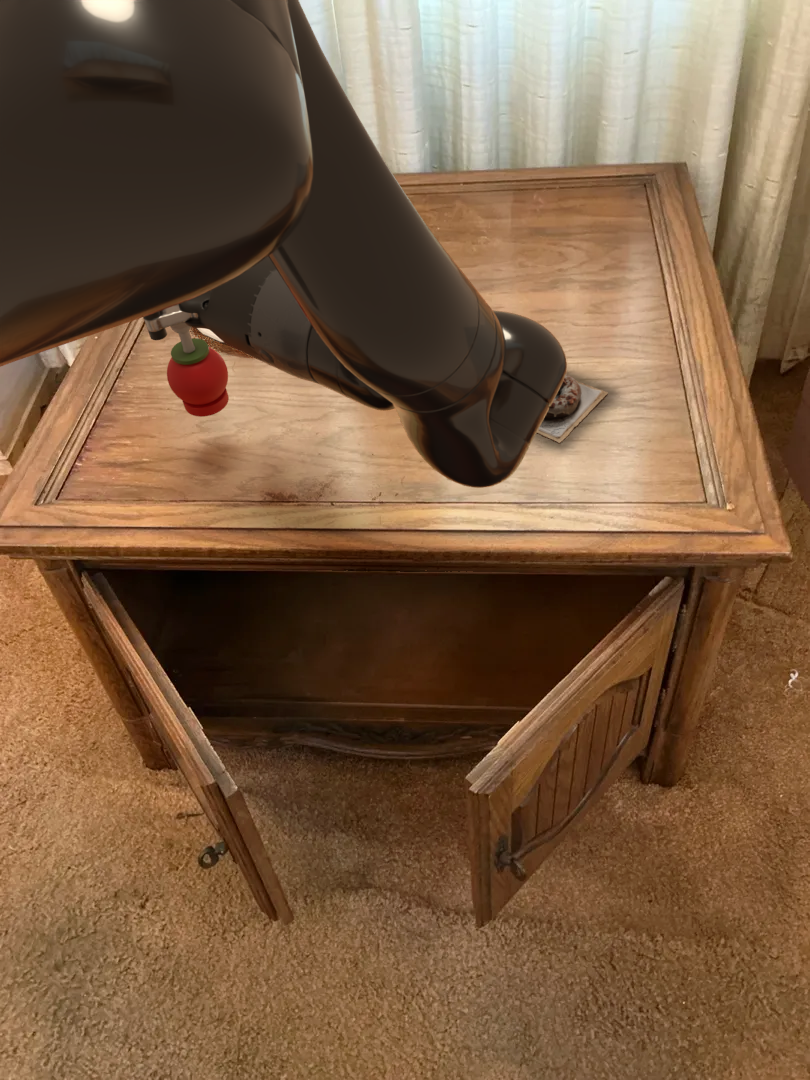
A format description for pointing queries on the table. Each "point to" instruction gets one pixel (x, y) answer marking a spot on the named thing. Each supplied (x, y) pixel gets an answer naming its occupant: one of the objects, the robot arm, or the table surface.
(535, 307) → the table surface
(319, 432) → the table surface
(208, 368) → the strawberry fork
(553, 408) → the donut
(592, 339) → the table surface
